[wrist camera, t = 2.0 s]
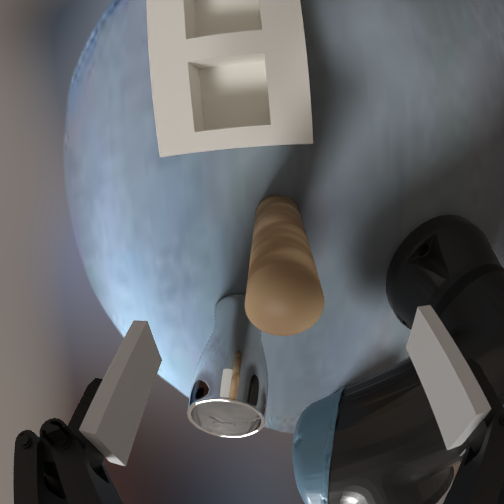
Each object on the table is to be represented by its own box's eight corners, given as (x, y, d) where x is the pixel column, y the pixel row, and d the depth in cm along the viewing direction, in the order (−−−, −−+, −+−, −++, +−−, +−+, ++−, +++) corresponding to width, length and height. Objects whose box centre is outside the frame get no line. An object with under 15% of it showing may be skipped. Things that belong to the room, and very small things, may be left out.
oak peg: (298, 193, 28) (326, 269, 15) (299, 235, 30) (322, 333, 17) (253, 195, 29) (240, 273, 15) (257, 237, 31) (248, 337, 17)
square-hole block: (288, -18, 19) (292, -43, 14) (304, 138, 26) (313, 143, 21) (166, -3, 20) (146, -22, 15) (178, 149, 27) (160, 157, 22)
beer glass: (225, 340, 37) (208, 441, 24) (201, 299, 35) (168, 402, 21) (276, 327, 36) (278, 433, 22) (256, 282, 33) (248, 391, 20)
